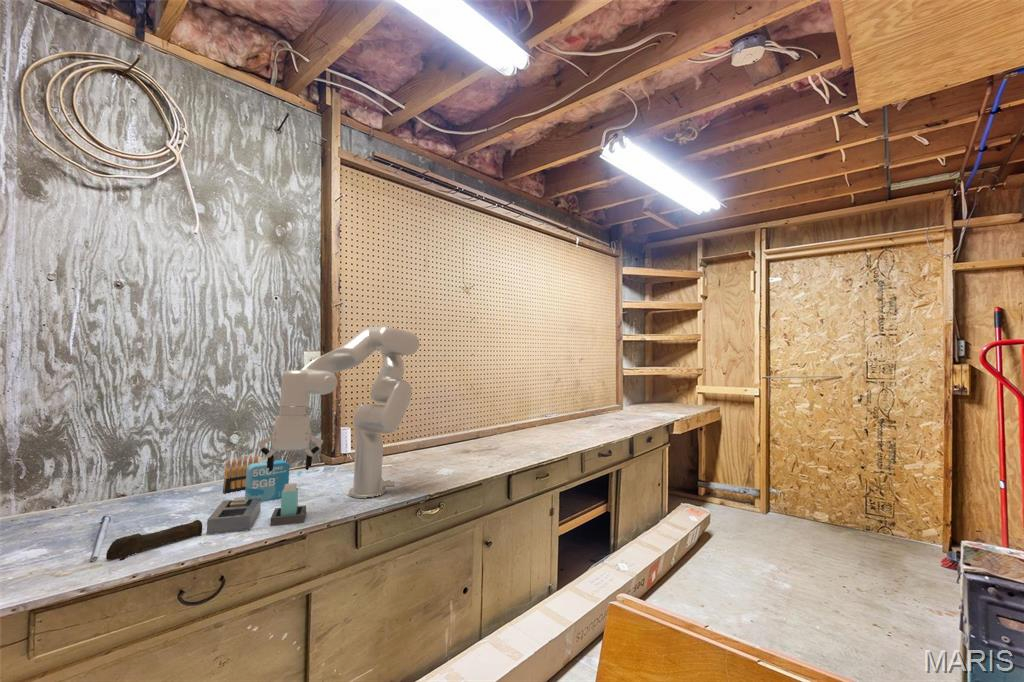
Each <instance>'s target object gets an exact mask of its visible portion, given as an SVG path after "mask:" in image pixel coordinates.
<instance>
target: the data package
mask: <svg viewBox="0 0 1024 682" xmlns="http://www.w3.org/2000/svg"><path fill="white" fill-rule="evenodd" d="M289 479H290V463H288V462H287V461H285V460H283V459H278V460H274V465H273V470H272V471H271V472H269V468H267V461H261V462H258V463H254V462H253V464H250V465H249V466H248V465H247V469H246V487H245V490H244V497H246V499H251V498H261V503H262V502H267V501H272V500H279V499H281V498H282V491H283V489H284V486H285V484H290V483H289V482H290V481H289Z"/></svg>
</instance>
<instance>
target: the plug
mask: <svg viewBox="0 0 1024 682" xmlns="http://www.w3.org/2000/svg"><path fill="white" fill-rule="evenodd" d="M297 485H298V484H297V483H296V482H295V483H289V484H285V486H284V489H283V491H282V498H280V499H281V500H280V501H281V502H280V504H281V505H280V508H281V516H286V515H297V506H298V502H299V487H297Z"/></svg>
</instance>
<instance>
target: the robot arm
mask: <svg viewBox="0 0 1024 682" xmlns="http://www.w3.org/2000/svg"><path fill="white" fill-rule="evenodd" d="M419 348H420V338H419V337H418V336H417V335H416V333H414V332H411V331H407V330H403V329H400V328H396V327H391V326H385V325H381V326H379V325H378V326H377V325H376V326H367V327H365V328H363V329H361V331H359V332H358V333H357V334H355V335H354V336H353V337H351V338H350V339H349V340H348V341H346V342H345V343H344V344H342V345H341V346H340V347H338V348H336V349H333V350H331V351H329V352H327V353H325V354H323V355H321V356H318V357H317V358H314V359H313V360H311V361H310V362H308V363H307V364H306V365H305V366H304V367H302V368H301V369H300V370H298V369H297V370H293V369H292V370H291V369H290V370H289V369H288V370H285V371H284V372H283V373H282V376H281V377H282V378H281V386H280V387H281V389H280V402H279V412H278V413H279V415H277V416H276V418H275V421H274V426H273V432H272V435H270V436H268V437H266V438H264V439H262V440H259V441H258V442H257V445H258V447H259V449H260V451H261V453H262V454H264V456H266V458H267V460H266V462H267V468H269V472H271V471H272V470H273V465H274V461H275V456H274V454H275V453H276V452H284V451H285V452H286V451H287V452H288V451H290V452H291V451H304V452H305V453H306V454H307V455H306V458H305V459H306V460H305V471H308V470H310V469H309V468H310V467H312V462H313V461H312V460H313V455H315V453H317V452H318V451H319V450H320V448H321V446H322V445H323V444H324V440H323V439H321V438H319V437H317V436H315V435H312V421H311V415H309V413H313V412H314V407H310V406H309V398H310V397H309V396H310V394H314V395H327V394H330V393H332V392H334V391H335V390H336V388H337V386H338V378H337V377H336V375H335V373H338V372H342V371H346V370H347V371H348V370H351V369H353V368H357V367H358V366H360V365H361V363H363V362H364V361H365V360H366V359H367V358H368V357H370V356H371V355H372V354H373V353H374V352H376V351H380V354H381V357H382V365H381V368H380V370H379V373H378V374H377V377H376V379H374V382H373V385H372V386H371V388H370V393H369V396H370V399H371V401H373V402H375V403H365V404H362V405H360V406H359V407H357V408H356V409H355V411H354V413H353V417H352V418H353V421H352V422H353V428H354V436H355V437H354V439H355V443H354V444H355V447H354V464H353V465H354V466H353V468H354V469H353V486H352V488H350V489H348V496H349V497H350V498H354V499H355V498H356V499H368V498H367V497H372V498H375V497H374V496H377V495H380V494H382V495H384V494H385V493H386V488H387V487H389V488H393V487H394V488H395V486H396V482H395V481H394V480H391V479H389V480H385V479H383V477H382V474H383V454H384V440H383V436H382V434H392V433H395V431H396V430H398V428H399V426H400V424H401V422H402V421H403V418H404V417H405V415H406V414H405V413H406V412H407V409H408V407H409V405H410V404H411V403H410V402H411V400H412V394H413V389H412V385H411V384H410V382H409V381H408V380H405V379H402V378H403V376H404V373H405V365H404V361H403V359H402V356H413V355H414V354H416V353H417V352H418V350H419ZM376 403H377V404H376ZM378 403H379V404H378ZM382 404H384V405H382ZM311 441H312V442H315V443H316V444H315V446H314V447H313V448H311V447H310V446H311ZM270 442H271V450H269V448H267V446H266V444H268V443H270ZM384 492H385V493H384ZM383 493H384V494H383ZM380 496H381V495H380ZM377 497H378V496H377Z"/></svg>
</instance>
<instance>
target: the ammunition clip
mask: <svg viewBox="0 0 1024 682" xmlns="http://www.w3.org/2000/svg"><path fill="white" fill-rule="evenodd" d="M252 456H253V455H249V457H248V459H247V456H246V455H244V458H243V462H242V457H241V456H239V457H238V459H237V460H236V458H235V457H233V458H232V461H231V459H230V458H229V457H228V458H227V459H226V465H225V470H224V480H223V487H222V493H223V494H225V495H226V493H227V494H231V492H232V493H236V491H237V492H242V491H241V490H243V491H245V487H246V469H247V467H248V466H249V465H250V464H254V463H259V457H258V454H257V453H256V454H255V456H254V458H253V457H252Z"/></svg>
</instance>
